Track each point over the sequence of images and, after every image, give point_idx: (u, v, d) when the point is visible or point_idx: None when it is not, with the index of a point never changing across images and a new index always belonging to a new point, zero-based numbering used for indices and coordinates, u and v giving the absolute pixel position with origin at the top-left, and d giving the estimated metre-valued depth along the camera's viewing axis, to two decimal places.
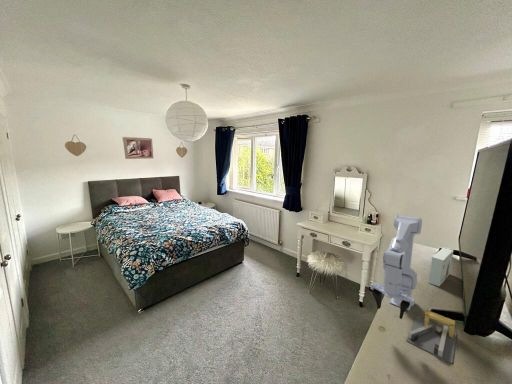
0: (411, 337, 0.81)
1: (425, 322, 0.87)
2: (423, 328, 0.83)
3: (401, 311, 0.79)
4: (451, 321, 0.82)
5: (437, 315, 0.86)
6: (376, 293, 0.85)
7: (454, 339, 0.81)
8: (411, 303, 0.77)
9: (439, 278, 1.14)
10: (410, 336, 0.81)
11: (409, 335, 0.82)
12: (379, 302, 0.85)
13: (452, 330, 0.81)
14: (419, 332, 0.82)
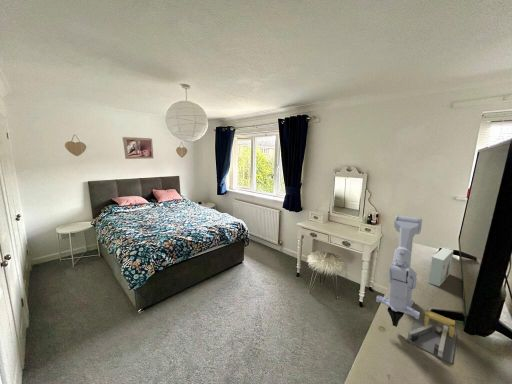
0: (411, 337, 0.81)
1: (425, 322, 0.87)
2: (423, 328, 0.83)
3: (396, 319, 0.84)
4: (451, 321, 0.82)
5: (437, 315, 0.86)
6: (391, 310, 0.84)
7: (454, 339, 0.81)
8: (417, 316, 0.79)
9: (439, 278, 1.14)
10: (410, 336, 0.81)
11: (409, 335, 0.82)
12: None
13: (452, 330, 0.81)
14: (419, 332, 0.82)
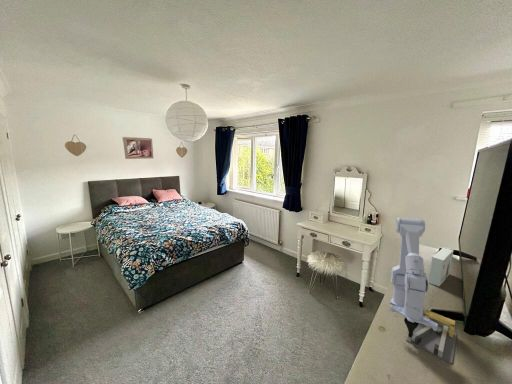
0: (415, 340, 0.80)
1: None
2: (424, 329, 0.83)
3: (410, 330, 0.80)
4: (451, 321, 0.82)
5: (437, 315, 0.86)
6: (409, 321, 0.80)
7: (454, 339, 0.81)
8: (435, 328, 0.75)
9: (439, 278, 1.14)
10: (413, 339, 0.80)
11: (412, 338, 0.80)
12: None
13: (452, 330, 0.81)
14: (421, 334, 0.81)
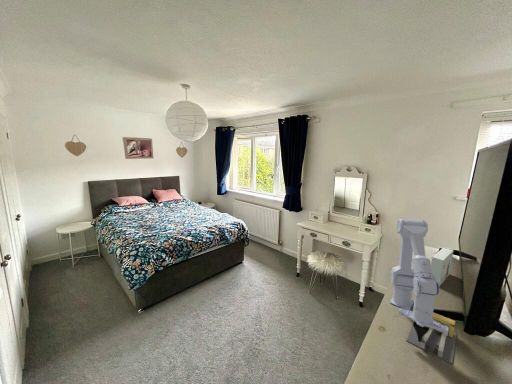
0: (424, 347, 0.77)
1: None
2: (429, 332, 0.81)
3: (420, 334, 0.78)
4: (451, 321, 0.82)
5: (437, 315, 0.86)
6: (417, 325, 0.78)
7: (454, 339, 0.81)
8: (446, 333, 0.73)
9: (439, 278, 1.14)
10: (423, 346, 0.77)
11: (422, 345, 0.77)
12: None
13: (452, 330, 0.81)
14: (428, 338, 0.79)
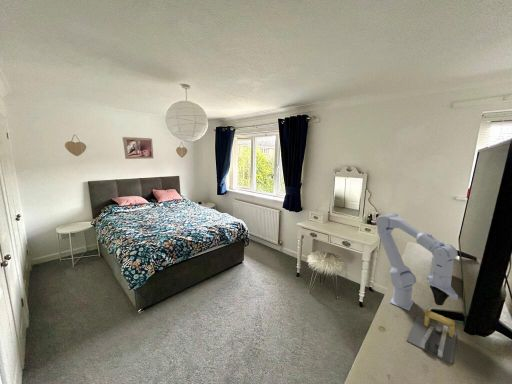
0: (424, 347, 0.77)
1: (425, 322, 0.87)
2: (429, 332, 0.81)
3: (436, 296, 0.87)
4: (451, 321, 0.82)
5: (437, 315, 0.86)
6: (433, 287, 0.88)
7: (454, 339, 0.81)
8: (451, 296, 0.80)
9: None
10: (423, 346, 0.77)
11: (422, 345, 0.77)
12: None
13: (452, 330, 0.81)
14: (428, 338, 0.79)
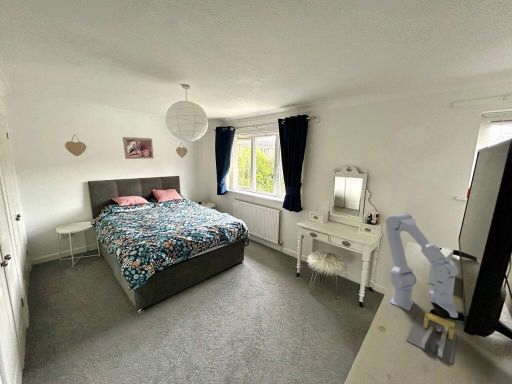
0: (424, 347, 0.77)
1: (424, 324, 0.86)
2: (429, 332, 0.81)
3: (436, 313, 0.86)
4: (451, 323, 0.81)
5: (436, 317, 0.85)
6: (434, 303, 0.87)
7: (454, 339, 0.81)
8: (450, 314, 0.79)
9: None
10: (423, 346, 0.77)
11: (422, 345, 0.77)
12: None
13: (452, 332, 0.80)
14: (428, 338, 0.79)
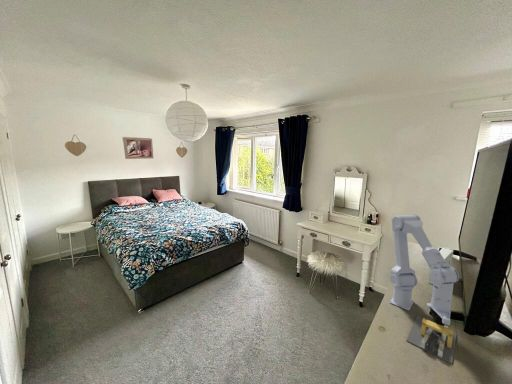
0: (424, 347, 0.77)
1: (422, 331, 0.83)
2: (429, 332, 0.81)
3: (433, 319, 0.83)
4: (449, 331, 0.78)
5: (434, 324, 0.81)
6: (432, 309, 0.84)
7: (454, 339, 0.81)
8: (442, 320, 0.76)
9: None
10: (423, 346, 0.77)
11: (422, 345, 0.77)
12: None
13: (450, 340, 0.77)
14: (428, 338, 0.79)
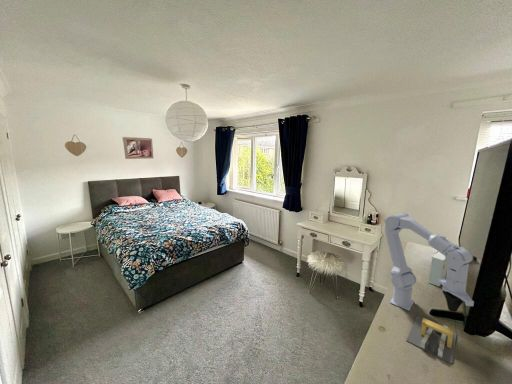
0: (424, 347, 0.77)
1: (422, 331, 0.83)
2: (429, 332, 0.81)
3: (449, 302, 0.82)
4: (449, 331, 0.78)
5: (434, 324, 0.81)
6: (446, 292, 0.84)
7: (454, 339, 0.81)
8: (466, 303, 0.76)
9: (439, 278, 1.14)
10: (423, 346, 0.77)
11: (422, 345, 0.77)
12: None
13: (450, 340, 0.77)
14: (428, 338, 0.79)
